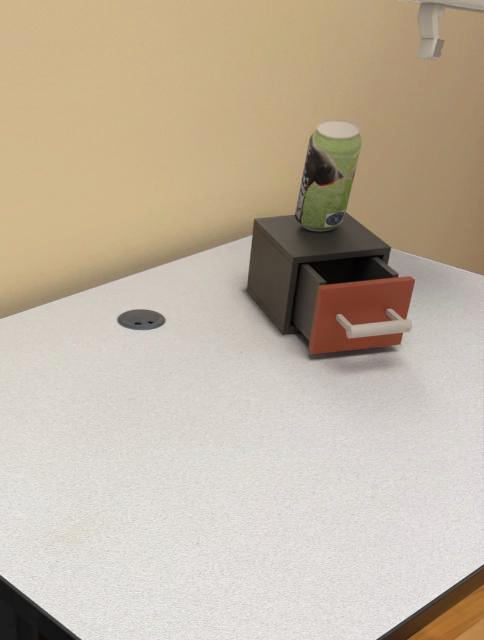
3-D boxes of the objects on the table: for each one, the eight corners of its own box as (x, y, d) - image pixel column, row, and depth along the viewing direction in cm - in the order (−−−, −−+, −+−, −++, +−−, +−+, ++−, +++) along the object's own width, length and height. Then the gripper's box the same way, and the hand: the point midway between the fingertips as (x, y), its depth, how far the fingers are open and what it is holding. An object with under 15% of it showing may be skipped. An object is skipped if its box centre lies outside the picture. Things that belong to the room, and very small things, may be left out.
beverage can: (327, 215, 116) (343, 113, 108) (358, 233, 110) (377, 126, 103) (283, 222, 115) (296, 119, 107) (312, 240, 109) (328, 133, 101)
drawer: (419, 362, 102) (436, 296, 97) (327, 373, 101) (339, 306, 96) (354, 301, 116) (366, 240, 111) (273, 309, 115) (281, 248, 110)
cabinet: (375, 324, 113) (391, 247, 106) (282, 334, 112) (293, 257, 105) (331, 281, 124) (343, 209, 117) (246, 290, 123) (253, 218, 117)
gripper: (451, -125, 80) (406, 55, 87) (608, -91, 88) (555, 72, 95) (402, -116, 85) (363, 54, 92) (554, -84, 92) (508, 70, 99)
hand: (462, 63), depth 93 cm, fingers open, 8 cm apart
